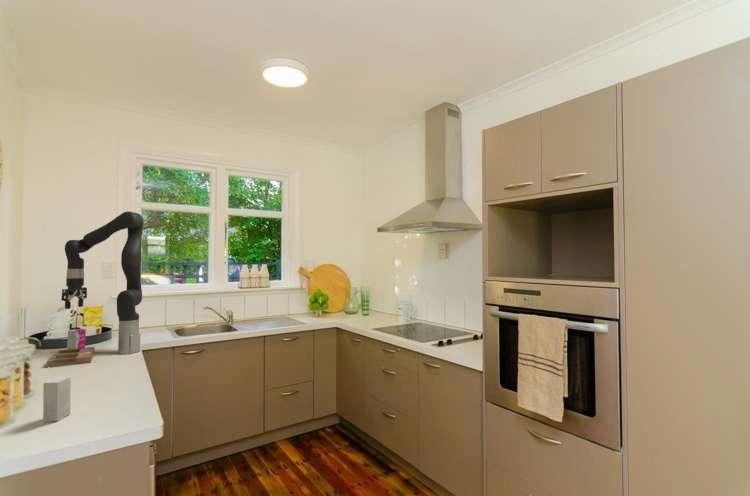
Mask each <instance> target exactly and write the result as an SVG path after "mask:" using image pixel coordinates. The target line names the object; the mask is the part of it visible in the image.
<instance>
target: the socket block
mask: <svg viewBox="0 0 750 496" xmlns="http://www.w3.org/2000/svg"><path fill="white" fill-rule="evenodd" d="M94 354H95V346H89V347H85V348H77V349H67V348H66V349H58V350H55V352H54V353H53V354H52V355H51V356H50V358H49V359H48V360H47V368H48V367H50V368H57V367H65V366H66V367H67V366H75V365H84V364H91V363H92V360H93V358H94V357H93V356H94ZM48 369H49V368H48Z"/></svg>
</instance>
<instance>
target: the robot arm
mask: <svg viewBox="0 0 750 496" xmlns="http://www.w3.org/2000/svg"><path fill="white" fill-rule="evenodd" d="M144 225H145V224H144V217H143V216H142V214H140V213H138V212H135V211H124V212H122V213H121V214H119V215H117V216H116V217H115V218H114V219H112V220H110V221H109V222H107V223H106V224H104V225H102V226H100V227H98V228H97V229H94V230H91V232H90V231H89V232H88V233H86V234H85V235H84V236H83V238H82V239H69V240H68V241H66V242H65V244H64V253H65V256H66V259H67V260H66V261H67V267H66V268H67V269H66V275H65V276H66V277H65V278H66V280H65V281H66V282H65V286H66V287H67V288H62V289H61V301H63V302H64V308H65V309H66V310H69V309H70V310H71V303H72V302H71V300H72V299H73V298H75V297H76V298H77V299H78V302H77V306H78V308H82V307H84V300H85V299H87V298H88V294H87V293H88V287H85V269H84V268H85V259H84V258H82V257H81V256H80V254H82V253H85V252H88V251H89V250H90V249H92V248H93V247H95V246H97V245H98V244H100V243H102V242H105V241H107V240H108V239H109V238H110V237H111V236H112V235H114V234H115V233H117V232H120V231H122V230H125V229H127V238H126V242H125V244H124V246H123V249H122V251H121V255H120V257H121V260H120V261H121V262H120V263H121V264H120V265H121V269H122V271H123V274H124V276H125V278H126V290H123V291H121V292H119V293H118V294H117V297H116V314H117V317H118V336H117V337H118V343H117V346H118V347H117V351H118V352H117V353H118V354H119V355H129V354H135V353H138V352H141V333H140V315H139V313H137V311H136V306H138V305H140V304H141V302H142V300H143V289H142V281H141V280H142V241H143V239H142V238H143V230H144V229H143V228H144Z"/></svg>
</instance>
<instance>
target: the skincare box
mask: <svg viewBox="0 0 750 496" xmlns="http://www.w3.org/2000/svg"><path fill="white" fill-rule="evenodd" d="M71 378H72V377H71V376H59V377H57V376H56V377H55V378H51V379H50V380H47V381H45V382H43V393H42V397H43V399H42V401H43V403H42V405H43V406H42V407H43V408H42V409H43V410H42V411H43V412H42V413H43V414H42V419H43V420H42V422H43V423H51V422H50V421H57V422H59V421H61V420H63V419H64V418H66V417H68V416H69V415H71V395H72V394H71V389H72V388H71V384H72V383H71V382H72V379H71ZM67 415H68V416H67ZM60 419H61V420H60Z"/></svg>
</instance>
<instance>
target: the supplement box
mask: <svg viewBox="0 0 750 496" xmlns="http://www.w3.org/2000/svg"><path fill="white" fill-rule="evenodd" d="M86 333H87V332H86V329H85V328H83V329H82V328H74V329H70V330H67V344H66V350H67V349H77V348H86Z"/></svg>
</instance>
